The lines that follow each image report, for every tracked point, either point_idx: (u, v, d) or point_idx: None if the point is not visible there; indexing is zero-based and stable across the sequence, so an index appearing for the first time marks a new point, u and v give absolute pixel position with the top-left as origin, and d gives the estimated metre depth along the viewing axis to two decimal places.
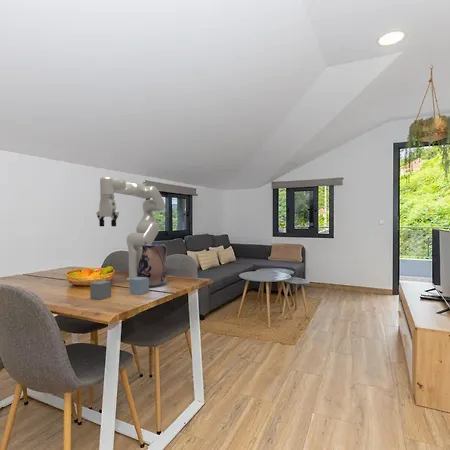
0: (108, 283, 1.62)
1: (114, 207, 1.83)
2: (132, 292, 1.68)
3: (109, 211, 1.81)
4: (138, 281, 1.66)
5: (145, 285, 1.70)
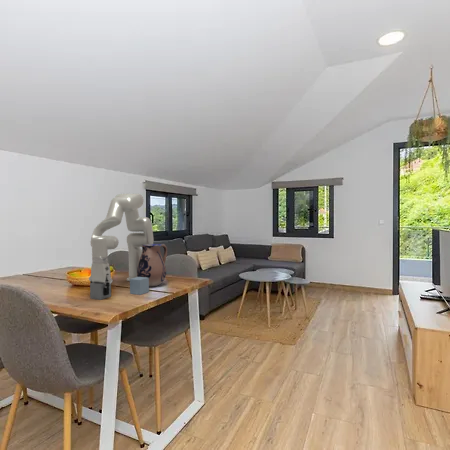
0: None
1: (108, 272, 1.60)
2: (132, 292, 1.68)
3: (102, 277, 1.58)
4: (138, 281, 1.66)
5: (145, 285, 1.70)
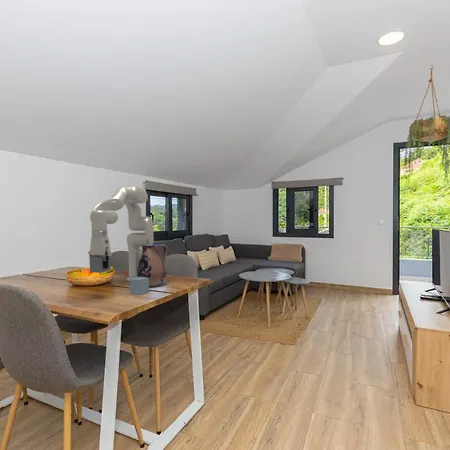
0: None
1: (107, 245, 1.59)
2: (132, 292, 1.68)
3: (102, 250, 1.57)
4: (138, 281, 1.66)
5: (145, 285, 1.70)
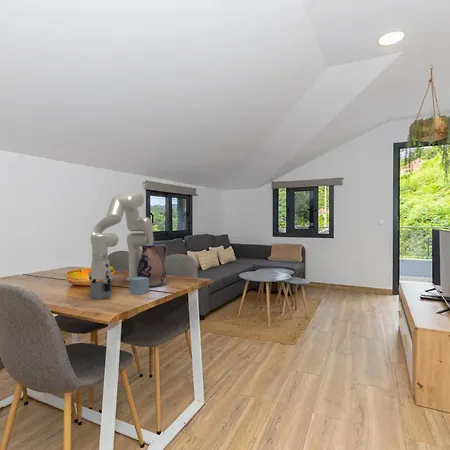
0: None
1: (108, 269, 1.60)
2: (132, 292, 1.68)
3: (102, 274, 1.58)
4: (138, 281, 1.66)
5: (145, 285, 1.70)
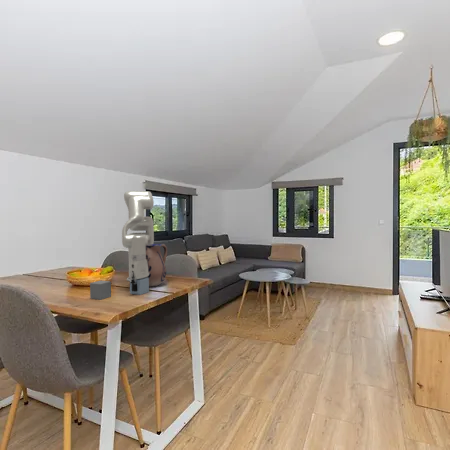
0: (108, 283, 1.62)
1: (133, 269, 1.66)
2: (132, 292, 1.68)
3: None
4: (138, 281, 1.66)
5: (145, 285, 1.70)
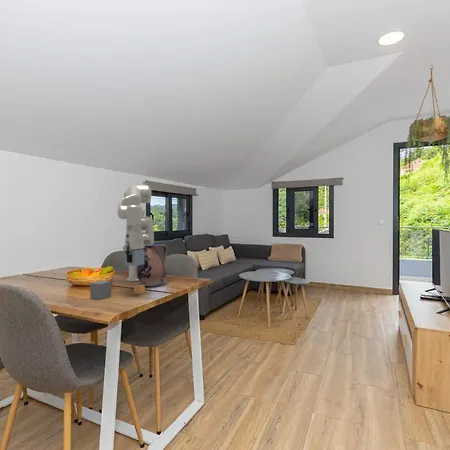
0: (108, 283, 1.62)
1: (128, 239, 1.60)
2: (127, 263, 1.63)
3: None
4: (133, 252, 1.61)
5: (140, 256, 1.64)
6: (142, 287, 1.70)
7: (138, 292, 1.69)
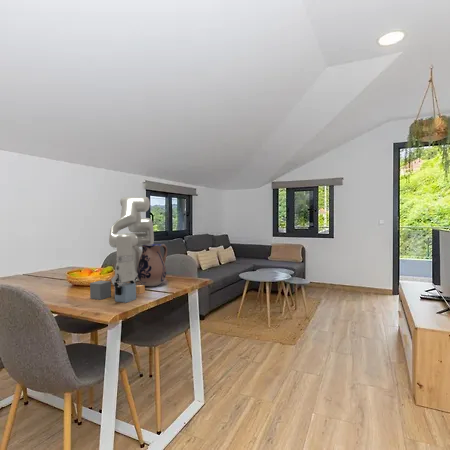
0: (108, 283, 1.62)
1: (118, 272, 1.50)
2: (117, 300, 1.53)
3: None
4: (124, 288, 1.51)
5: (132, 292, 1.55)
6: (142, 287, 1.70)
7: (138, 292, 1.69)
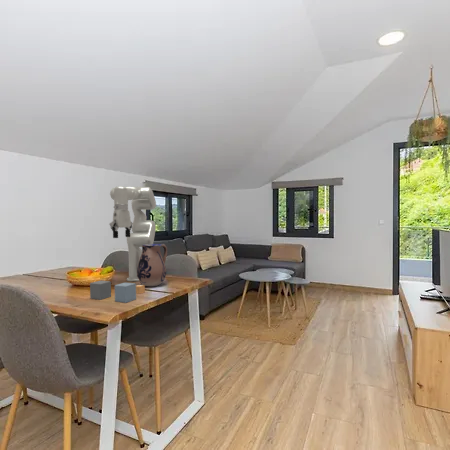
0: (108, 283, 1.62)
1: (115, 218, 1.74)
2: (117, 300, 1.53)
3: None
4: (124, 288, 1.51)
5: (132, 292, 1.55)
6: (142, 287, 1.70)
7: (138, 292, 1.69)
